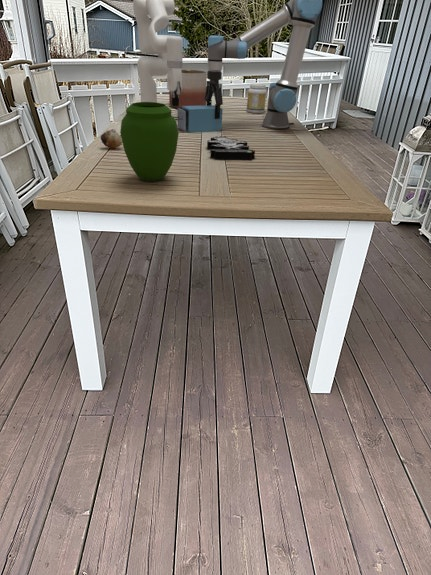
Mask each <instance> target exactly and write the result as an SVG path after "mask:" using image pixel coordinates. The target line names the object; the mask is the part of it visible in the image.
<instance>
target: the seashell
mask: <svg viewBox="0 0 431 575" xmlns="http://www.w3.org/2000/svg"><path fill="white" fill-rule="evenodd" d="M100 140H101V143H102V144H103V145H104V146H105V147H107V148H110V149H116V148H119V147H120V146H122V145H123V142H122V138H121V134H119V133H118V132H117V131H116V129H114V128H112V129H109V130H106V131H104V132H103V133H102V134H101V135H100Z"/></svg>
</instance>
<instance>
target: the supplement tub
mask: <svg viewBox="0 0 431 575" xmlns="http://www.w3.org/2000/svg"><path fill="white" fill-rule="evenodd" d="M266 87H267V86H266V84H264V83H250V84H249V88H248V90H247V102H246V111H247V112H248V113H250V114H251V113H252V114H263V113H265V110H266V101H267V100H266V99H267V89H266Z"/></svg>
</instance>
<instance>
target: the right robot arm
mask: <svg viewBox="0 0 431 575" xmlns="http://www.w3.org/2000/svg"><path fill="white" fill-rule="evenodd" d="M322 8H323V0H289V1H288V2H286V3H284V4H283V5H282V8H281V9H279V10H278V11H276V12H274V13H273V14H272V15H269V16H268V17H267V18H265V19H263V20H262V21H260V22H259V23H257V24H256V25H254V26H252V27H251V28H250V29H248V30H246V31H245V32H243V33H241V34H239V35H238V36H237V37H235V38H233V39H231V40H225V39H224V36H223V35H209V36H208V39H207V40H208V42H207V44H208V45H207V63H206V66H207V71H206V72H207V79H208V80H207V82H206V93H205V100H206V105H213V104H212V102H213V101H212V100H213V99H212V98H213V96H214V101H215V104H214V105H215V119H220V108H221V106H222V105H224V102H223V83H220V80H222V76H223V72H222V70H223V59H235V60H245V59H246V58H247V53H248V50H249V49H250V48H252V47H254V46H255V45H257V44H259V43H260V42H261V41H264V40H265V39H266V38H268V37H270V36H271V35H273V34H274V33H276V32H278V31H280V30H281V29H283V28H285V27H286V26H288V25H293V26H292V30H291V34H290V38H289V42H288V46H287V49H286V50H287V51H286V54H285V57H284V62H283V66H282V70H281V74H280V78H279V79H278V80H277V81H276V82H271V83H270V84H269V88H268V98H267V107H266V108H267V109H266V114H265V117H263V121H262V127H263V128H266V129H272V130H287V129H289V127H290V125H294V124H295V122H289V116H288V112H290V111H292V110H293V109H294V108H295V106H296V103H297V93H298V89H299V85H298V83H297V81H298V78H299V73H300V71H301V67H302V62H303V59H304V55H305V51H306V49H307V48H306V47H307V44H308V40H309V36H310V33H311V30H312V29H313V28H314V27H315V25H316V23H317V19H318V16H319V15H320V13H321V12H322Z"/></svg>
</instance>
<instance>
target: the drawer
mask: <svg viewBox="0 0 431 575" xmlns="http://www.w3.org/2000/svg"><path fill="white" fill-rule="evenodd" d="M176 110H177V111H176V112H177V116H173V118H174V119H175V120H176V121H177V128H179V129H180V130H182V131H186V128H187V129H188V123H189V111H187V110H185V109H183V110H182V109H180V108H176Z"/></svg>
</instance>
